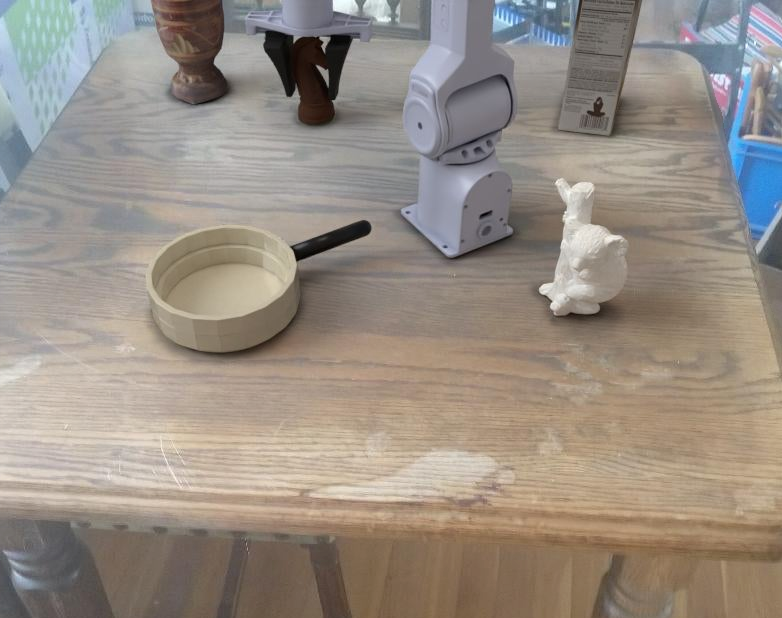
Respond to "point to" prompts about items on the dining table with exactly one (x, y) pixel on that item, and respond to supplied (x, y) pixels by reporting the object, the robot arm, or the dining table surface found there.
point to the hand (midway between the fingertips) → (312, 94)
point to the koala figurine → (585, 257)
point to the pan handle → (331, 239)
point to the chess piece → (311, 81)
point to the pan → (223, 287)
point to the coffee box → (598, 64)
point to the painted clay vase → (192, 46)
